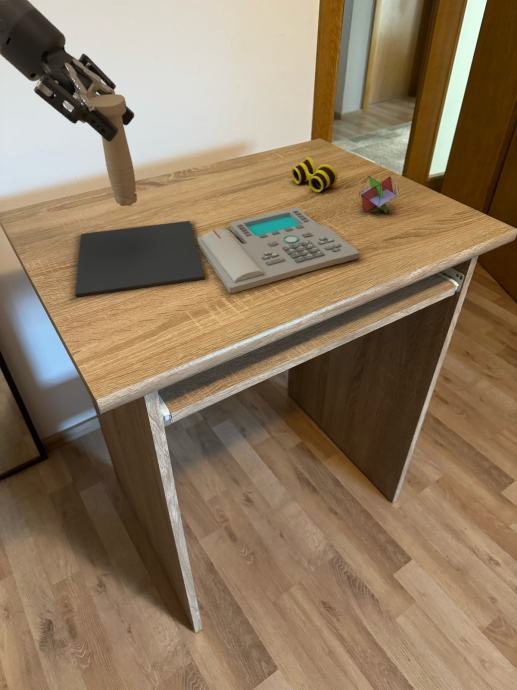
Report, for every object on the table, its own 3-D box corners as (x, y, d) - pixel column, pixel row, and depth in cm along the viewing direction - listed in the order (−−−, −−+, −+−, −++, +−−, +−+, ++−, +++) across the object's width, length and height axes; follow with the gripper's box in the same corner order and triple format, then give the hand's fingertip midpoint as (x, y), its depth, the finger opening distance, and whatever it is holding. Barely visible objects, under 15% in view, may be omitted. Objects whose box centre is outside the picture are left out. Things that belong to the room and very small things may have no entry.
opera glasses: (290, 184, 108) (287, 163, 104) (307, 174, 109) (305, 153, 106) (321, 198, 102) (319, 176, 98) (339, 187, 103) (337, 165, 100)
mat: (75, 297, 75) (74, 294, 74) (81, 236, 89) (80, 233, 89) (204, 279, 78) (204, 276, 77) (190, 223, 93) (189, 220, 92)
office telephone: (229, 281, 73) (187, 225, 87) (230, 295, 74) (189, 238, 88) (360, 245, 80) (302, 198, 93) (359, 259, 81) (301, 211, 95)
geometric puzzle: (363, 212, 90) (390, 173, 87) (343, 198, 95) (369, 161, 92) (385, 227, 94) (412, 191, 92) (365, 213, 99) (390, 178, 96)
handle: (144, 193, 80) (127, 93, 70) (140, 210, 75) (121, 106, 65) (114, 195, 79) (92, 94, 70) (108, 212, 75) (84, 107, 65)
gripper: (31, 44, 71) (125, 131, 77) (-25, 66, 60) (90, 165, 66) (55, -1, 67) (152, 95, 73) (0, 14, 56) (120, 125, 62)
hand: (122, 128), depth 70 cm, fingers closed on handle, 6 cm apart
